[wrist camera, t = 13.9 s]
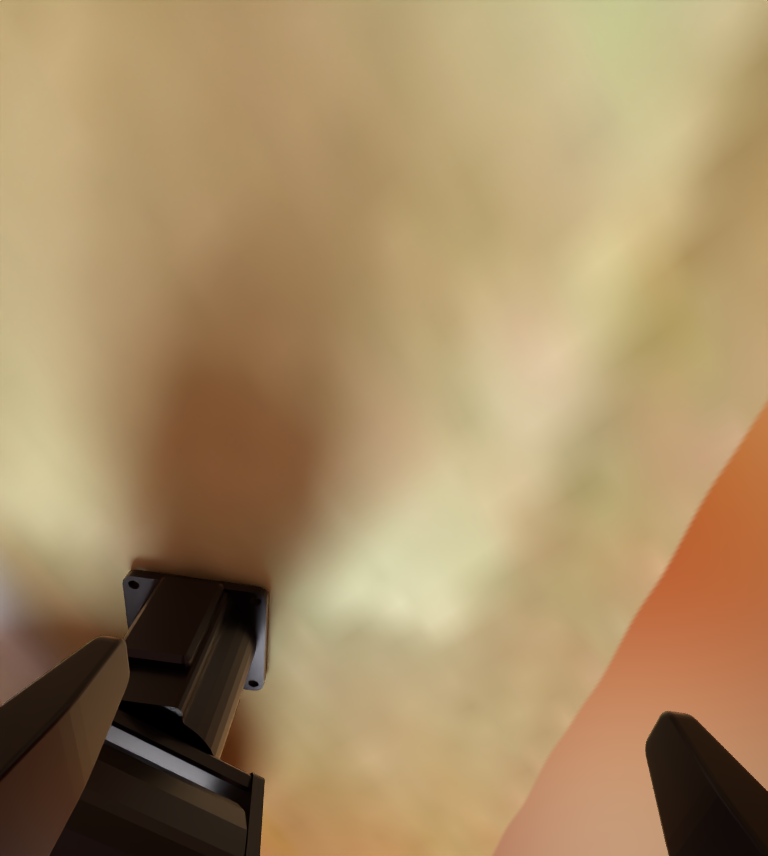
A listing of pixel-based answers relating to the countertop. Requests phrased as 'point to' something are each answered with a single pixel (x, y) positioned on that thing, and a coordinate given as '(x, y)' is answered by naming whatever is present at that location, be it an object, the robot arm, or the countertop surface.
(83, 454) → the countertop surface
